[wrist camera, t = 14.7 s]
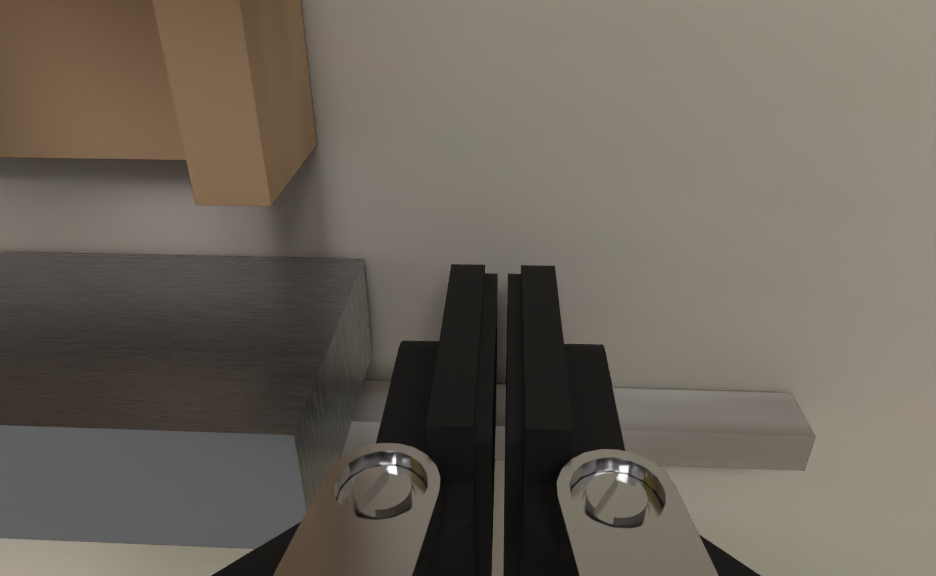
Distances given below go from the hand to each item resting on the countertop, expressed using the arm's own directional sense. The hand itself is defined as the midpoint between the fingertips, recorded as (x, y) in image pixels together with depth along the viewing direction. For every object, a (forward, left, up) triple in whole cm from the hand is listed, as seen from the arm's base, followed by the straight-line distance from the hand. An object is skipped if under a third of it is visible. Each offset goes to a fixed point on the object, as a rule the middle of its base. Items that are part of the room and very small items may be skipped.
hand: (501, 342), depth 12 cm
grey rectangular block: (0, -7, -1) cm, 7 cm away
